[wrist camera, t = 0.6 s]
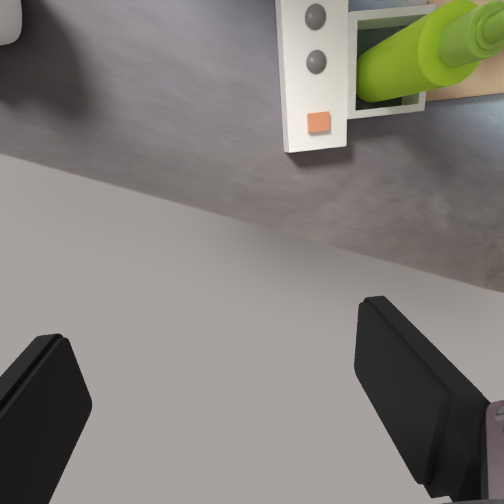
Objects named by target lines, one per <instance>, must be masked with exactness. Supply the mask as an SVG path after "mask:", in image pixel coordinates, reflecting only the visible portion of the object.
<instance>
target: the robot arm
mask: <svg viewBox="0 0 504 504" xmlns="http://www.w3.org/2000/svg"><path fill="white" fill-rule="evenodd" d="M354 369H355V373H356V376H357V378H358V380H359V382H360V383H361V385H362V387H363V389H364V390H365V392H366V394H367V396H368V398H369V399H370V401H371V403H372V405H373V406H374V408H375V410H376V412H377V414H378V416H379V417H380V419H381V421H382V423H383V424H384V426H385V428H386V430H387V432H388V433H389V435H390V437H391V439H392V441H393V442H394V444H395V446H396V448H397V449H398V451H399V453H400V455H401V457H402V458H403V460H404V462H405V464H406V466H407V467H408V469H409V471H410V473H411V474H412V476H413V478H414V479H415V481H416V482H417V483H418V484H423V485H424V487H425V488H426V490H427V492H428V494H429V496H430V497H431V498H436V497H443V496H449V497H450V498H451V500H452V501H453V502H451V503H444V504H504V400H500V401H496V402H492V403H490V402H489V401H488V400H487V399H486V398H485V397H484V396H483V395H482V393H481V392H480V391H479V390H478V389H477V388H476V387H475V386H474V385H473V384H472V383H471V382H470V381H469V380H468V379H467V378H466V377H465V376H464V375H463V374H462V373H461V372H460V371H459V370H458V369H457V368H456V367H455V366H454V365H453V364H452V363H451V362H450V361H449V360H448V359H447V358H446V357H445V356H444V355H443V354H442V353H441V352H440V351H439V350H438V349H437V348H436V347H435V346H434V345H433V344H432V343H431V342H430V341H429V340H428V339H427V338H426V337H425V336H424V335H423V334H422V333H421V332H420V331H419V330H418V329H417V328H416V327H415V326H414V325H413V324H412V323H411V322H410V321H409V320H408V319H407V318H406V317H405V316H404V315H403V314H402V313H401V312H400V311H399V310H398V309H397V308H396V307H395V306H394V305H393V304H392V303H391V302H390V301H389V300H388V299H387V298H386V297H384V296H375V297H367V298H365V299H364V301H363V302H362V303H360V304H359V310H358V322H357V335H356V348H355V361H354ZM91 409H92V400H91V397H90V394H89V392H88V389H87V386H86V384H85V381H84V379H83V376H82V373H81V371H80V368H79V365H78V363H77V360H76V358H75V355H74V352H73V350H72V347H71V345H70V342H69V340H68V339H67V338H63V336H62V335H61V334H50V335H42V336H38V337H36V338H35V339H34V340H33V341H32V342H31V343H30V344H29V346H28V347H27V348H26V349H25V350H24V351H23V352H22V353H21V354H20V356H19V357H18V358H17V359H16V360H15V361H14V362H13V363H12V364H11V366H10V367H9V368H8V369H7V370H6V371H5V372H4V374H3V375H2V376H1V377H0V504H49V502H50V500H51V497H52V495H53V493H54V491H55V489H56V487H57V484H58V482H59V480H60V478H61V476H62V474H63V471H64V469H65V467H66V465H67V463H68V461H69V459H70V456H71V454H72V452H73V450H74V448H75V446H76V443H77V441H78V439H79V437H80V435H81V432H82V430H83V428H84V426H85V424H86V422H87V420H88V417H89V415H90V412H91Z"/></svg>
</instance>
